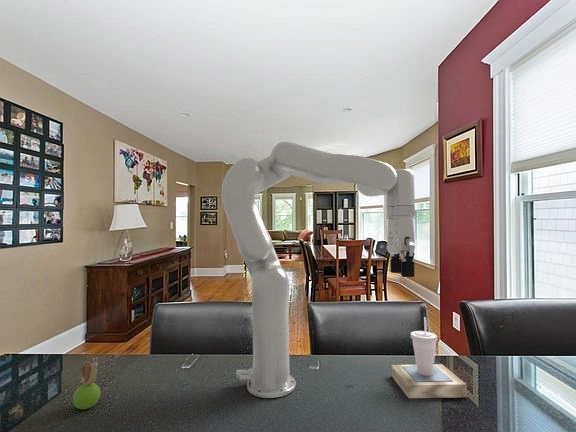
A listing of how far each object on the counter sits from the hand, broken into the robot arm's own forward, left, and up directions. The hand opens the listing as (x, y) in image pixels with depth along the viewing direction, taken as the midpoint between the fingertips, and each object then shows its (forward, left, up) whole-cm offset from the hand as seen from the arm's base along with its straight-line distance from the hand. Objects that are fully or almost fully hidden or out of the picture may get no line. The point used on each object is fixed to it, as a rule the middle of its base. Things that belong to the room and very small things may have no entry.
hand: (401, 274), depth 87 cm
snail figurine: (-78, -13, -28) cm, 84 cm away
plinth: (+4, -5, -28) cm, 28 cm away
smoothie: (+3, -4, -25) cm, 25 cm away
